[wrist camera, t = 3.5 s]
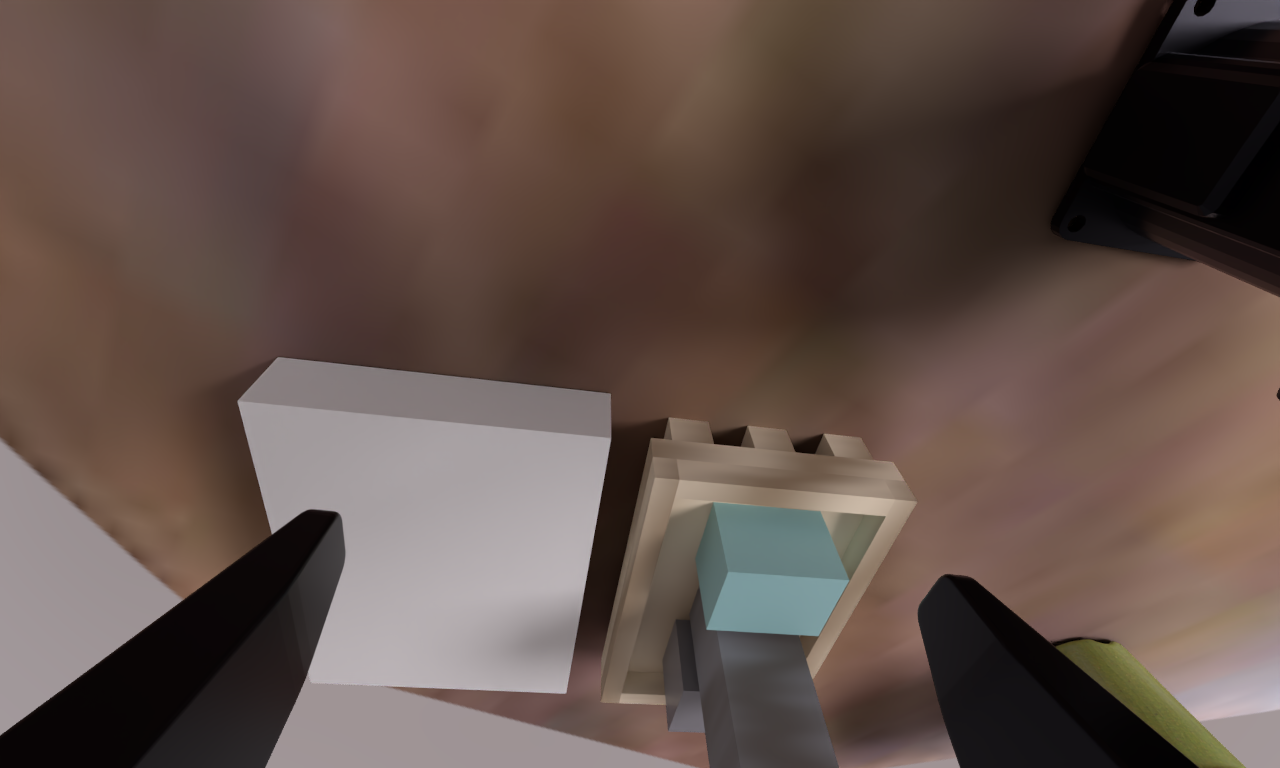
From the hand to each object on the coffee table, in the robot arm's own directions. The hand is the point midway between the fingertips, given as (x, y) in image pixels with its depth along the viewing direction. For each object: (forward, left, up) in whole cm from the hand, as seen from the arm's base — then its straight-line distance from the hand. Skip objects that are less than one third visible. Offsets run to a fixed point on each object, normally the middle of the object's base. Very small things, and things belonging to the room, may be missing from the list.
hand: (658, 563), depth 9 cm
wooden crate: (-6, +12, -11) cm, 18 cm away
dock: (+6, +12, -11) cm, 17 cm away
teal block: (-6, +9, -9) cm, 14 cm away
